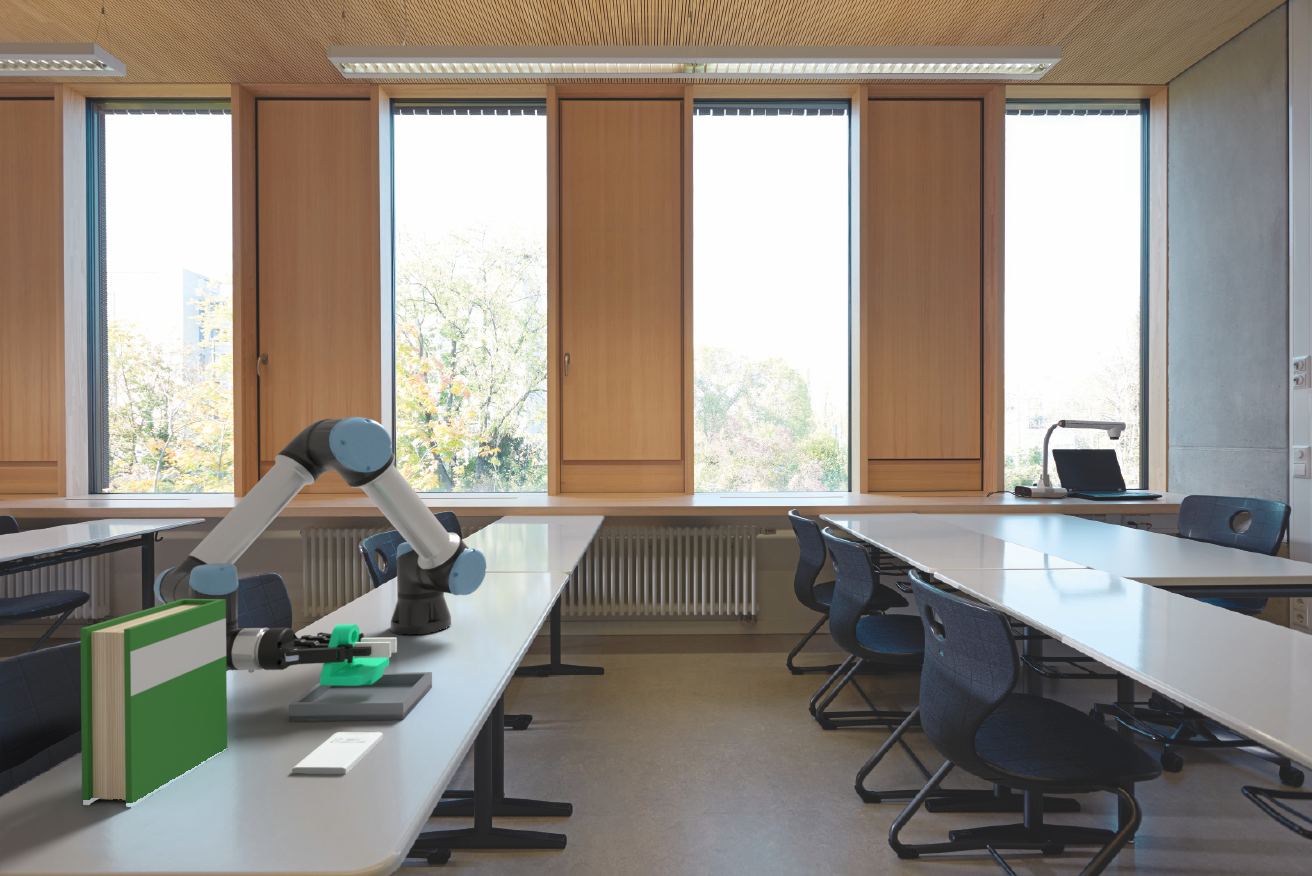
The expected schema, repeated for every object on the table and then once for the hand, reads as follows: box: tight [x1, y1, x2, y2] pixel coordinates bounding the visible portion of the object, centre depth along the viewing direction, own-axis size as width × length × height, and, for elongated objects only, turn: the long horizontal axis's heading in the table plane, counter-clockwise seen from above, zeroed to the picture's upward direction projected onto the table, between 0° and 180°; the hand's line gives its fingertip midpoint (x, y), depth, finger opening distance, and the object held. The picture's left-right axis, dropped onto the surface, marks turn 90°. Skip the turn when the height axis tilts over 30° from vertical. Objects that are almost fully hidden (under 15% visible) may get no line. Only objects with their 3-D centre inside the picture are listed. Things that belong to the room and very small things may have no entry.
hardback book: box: [80, 599, 228, 803], centre depth 102 cm, size 18×7×24 cm, turn 174°
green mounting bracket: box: [319, 623, 390, 686], centre depth 129 cm, size 12×8×10 cm, turn 177°
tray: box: [288, 671, 433, 723], centre depth 129 cm, size 16×20×3 cm
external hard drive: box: [291, 731, 384, 775], centre depth 108 cm, size 2×8×12 cm
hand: (393, 647), depth 129 cm, fingers closed on green mounting bracket, 2 cm apart
